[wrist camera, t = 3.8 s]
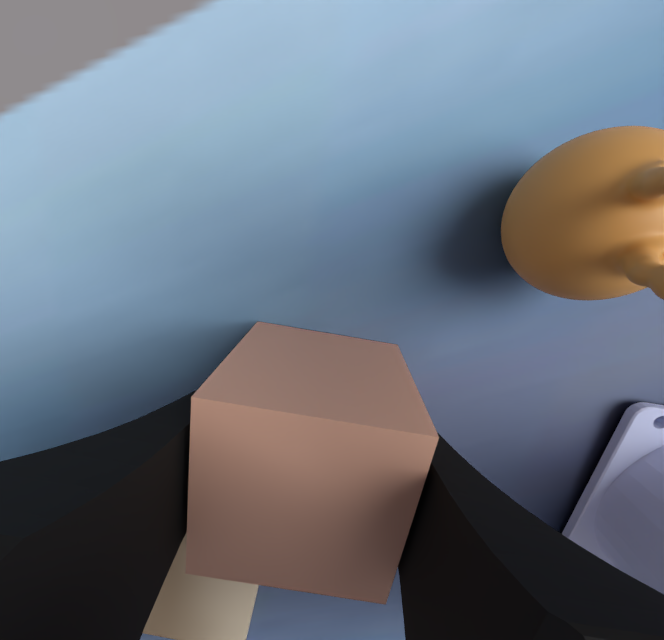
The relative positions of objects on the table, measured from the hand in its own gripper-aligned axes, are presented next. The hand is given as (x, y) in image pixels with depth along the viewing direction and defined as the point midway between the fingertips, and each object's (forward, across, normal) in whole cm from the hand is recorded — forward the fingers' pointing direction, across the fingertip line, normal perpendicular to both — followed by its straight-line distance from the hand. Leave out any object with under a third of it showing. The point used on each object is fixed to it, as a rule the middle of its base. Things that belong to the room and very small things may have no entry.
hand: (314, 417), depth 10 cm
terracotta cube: (+1, 0, 0) cm, 1 cm away
